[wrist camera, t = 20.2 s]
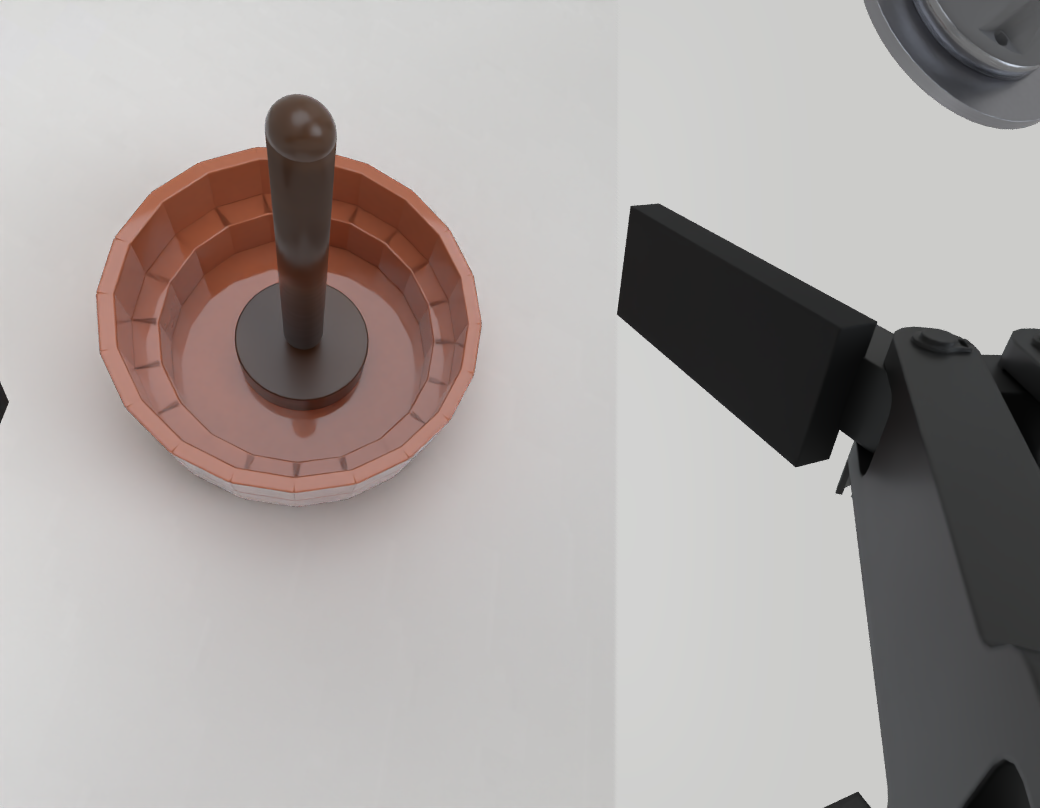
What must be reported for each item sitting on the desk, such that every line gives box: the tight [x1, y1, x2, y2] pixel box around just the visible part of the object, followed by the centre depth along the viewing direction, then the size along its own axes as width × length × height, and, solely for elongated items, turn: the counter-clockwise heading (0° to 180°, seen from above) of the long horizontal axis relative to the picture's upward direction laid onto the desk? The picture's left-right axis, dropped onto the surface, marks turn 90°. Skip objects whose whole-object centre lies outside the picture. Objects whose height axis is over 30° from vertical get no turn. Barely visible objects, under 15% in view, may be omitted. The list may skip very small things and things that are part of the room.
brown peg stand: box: [235, 94, 369, 410], centre depth 24 cm, size 6×6×18 cm
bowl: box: [96, 147, 482, 507], centre depth 30 cm, size 14×14×6 cm
